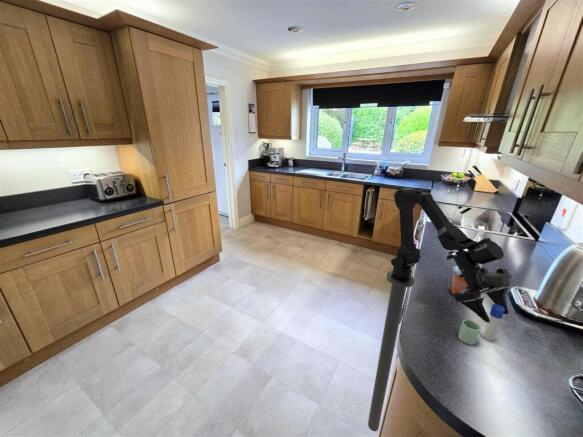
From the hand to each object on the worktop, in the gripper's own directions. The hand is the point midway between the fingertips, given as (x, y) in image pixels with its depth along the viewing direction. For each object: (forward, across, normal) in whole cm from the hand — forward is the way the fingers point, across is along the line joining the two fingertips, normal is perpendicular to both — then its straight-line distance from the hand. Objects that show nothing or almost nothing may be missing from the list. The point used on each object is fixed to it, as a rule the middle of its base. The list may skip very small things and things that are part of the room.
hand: (497, 318), depth 73 cm
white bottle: (-10, +24, +22) cm, 34 cm away
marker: (+5, 0, +6) cm, 8 cm away
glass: (+4, -7, +8) cm, 11 cm away
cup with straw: (-7, +14, +19) cm, 24 cm away
